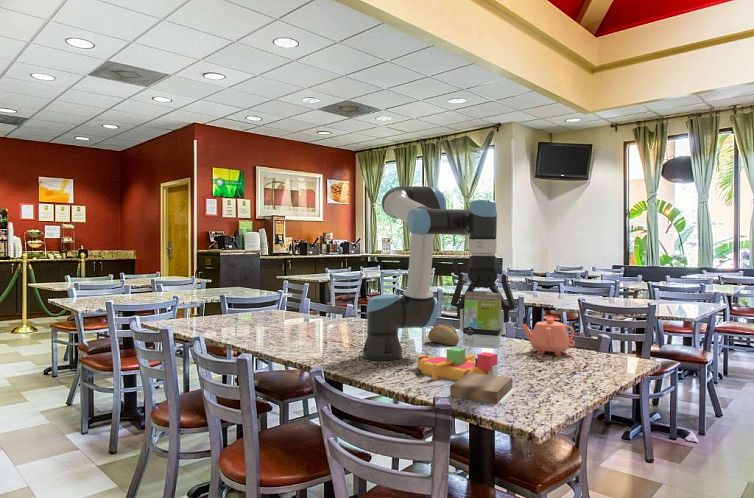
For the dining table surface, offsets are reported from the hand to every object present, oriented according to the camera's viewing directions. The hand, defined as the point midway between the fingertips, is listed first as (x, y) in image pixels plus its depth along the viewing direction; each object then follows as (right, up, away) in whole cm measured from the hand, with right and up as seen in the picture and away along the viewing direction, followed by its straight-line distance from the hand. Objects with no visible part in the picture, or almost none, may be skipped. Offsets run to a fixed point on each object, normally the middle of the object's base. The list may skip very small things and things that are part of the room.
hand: (482, 332), depth 150 cm
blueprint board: (-1, -18, +1) cm, 18 cm away
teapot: (+38, -18, +61) cm, 74 cm away
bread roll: (-1, -17, +79) cm, 81 cm away
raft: (-5, -18, +23) cm, 30 cm away
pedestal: (0, -17, 0) cm, 17 cm away
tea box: (0, -3, 0) cm, 3 cm away
